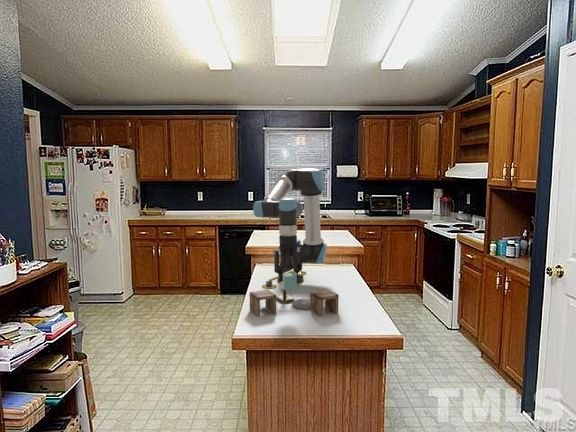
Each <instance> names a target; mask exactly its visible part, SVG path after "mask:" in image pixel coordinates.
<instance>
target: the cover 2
mask: <svg viewBox="0 0 576 432" xmlns="http://www.w3.org/2000/svg"><path fill="white" fill-rule="evenodd" d="M309 296H310V297H309V299H310V309H309V311H310V312H312V313H313V314H315V315H317V316H318V317H320V318H322V317H324V308H325V309H326V310H328V311H330V312H332V313H333V314H335V315H336V314H337V315H338V314H339V294H338V293H336V292H334V291H332V290H329V289H322V290H316V291H311V292H309Z"/></svg>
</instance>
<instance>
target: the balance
mask: <svg viewBox="0 0 576 432" xmlns="http://www.w3.org/2000/svg"><path fill="white" fill-rule="evenodd" d="M292 271H294V269H292V270H290V271H288V272H285V273H283V274H287V273H291V272H292ZM306 275H307V271H303V270H302V271H299V273H298V276H303V277H304V276H306ZM278 278H279V275H278V274H277V275H276V276H274V277H272V278H269V279H268V280H267V281H265V284H263V285H261V288H262V289H263V290H274V289H277V284H274V283H273V281H276V280H277V279H278ZM294 300H295V298H294V297H292V296H290V295H289V294H287V291H286V290H284V289H282V294H279V295H276V301H278V302H279V303H281V304H288V303H292V302H293V301H294Z"/></svg>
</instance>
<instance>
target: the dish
mask: <svg viewBox="0 0 576 432" xmlns="http://www.w3.org/2000/svg"><path fill="white" fill-rule="evenodd" d="M291 306H292V308H294V309H298V310H307V311H308V310H310V298H298V299H294V301H293V302H291Z"/></svg>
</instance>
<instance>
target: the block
mask: <svg viewBox="0 0 576 432" xmlns="http://www.w3.org/2000/svg"><path fill="white" fill-rule="evenodd" d="M284 290H286V292H288V291H292V290H297V287H296V275H294V274H292V273H287V274H285V289H284Z"/></svg>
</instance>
